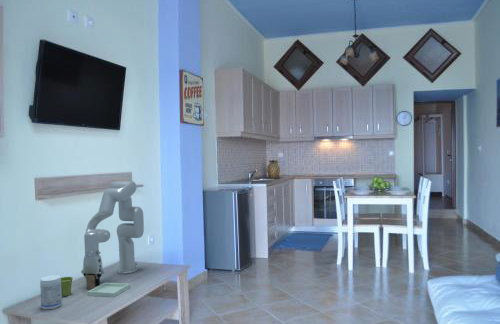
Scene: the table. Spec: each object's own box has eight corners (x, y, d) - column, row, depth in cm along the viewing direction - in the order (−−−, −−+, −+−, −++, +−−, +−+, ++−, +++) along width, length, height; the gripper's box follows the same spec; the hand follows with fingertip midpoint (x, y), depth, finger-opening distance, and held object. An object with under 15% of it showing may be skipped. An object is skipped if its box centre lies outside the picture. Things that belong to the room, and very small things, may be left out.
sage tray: (105, 286, 240) (104, 282, 240) (130, 287, 236) (130, 283, 236) (87, 295, 224) (87, 291, 224) (114, 297, 220) (113, 293, 220)
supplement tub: (42, 305, 212) (40, 276, 211) (62, 302, 215) (61, 274, 215) (40, 311, 203) (39, 281, 202) (61, 308, 206) (60, 278, 206)
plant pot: (66, 298, 221) (66, 282, 221) (51, 297, 223) (50, 281, 223) (77, 292, 230) (76, 276, 230) (62, 291, 232) (61, 276, 232)
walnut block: (92, 286, 240) (91, 272, 240) (99, 287, 239) (99, 273, 239) (86, 289, 235) (86, 275, 235) (94, 289, 234) (93, 275, 234)
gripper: (108, 252, 238) (110, 283, 239) (83, 251, 243) (84, 282, 243) (101, 255, 231) (102, 287, 231) (74, 254, 235) (76, 286, 236)
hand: (93, 284), depth 237 cm, fingers closed on walnut block, 5 cm apart
